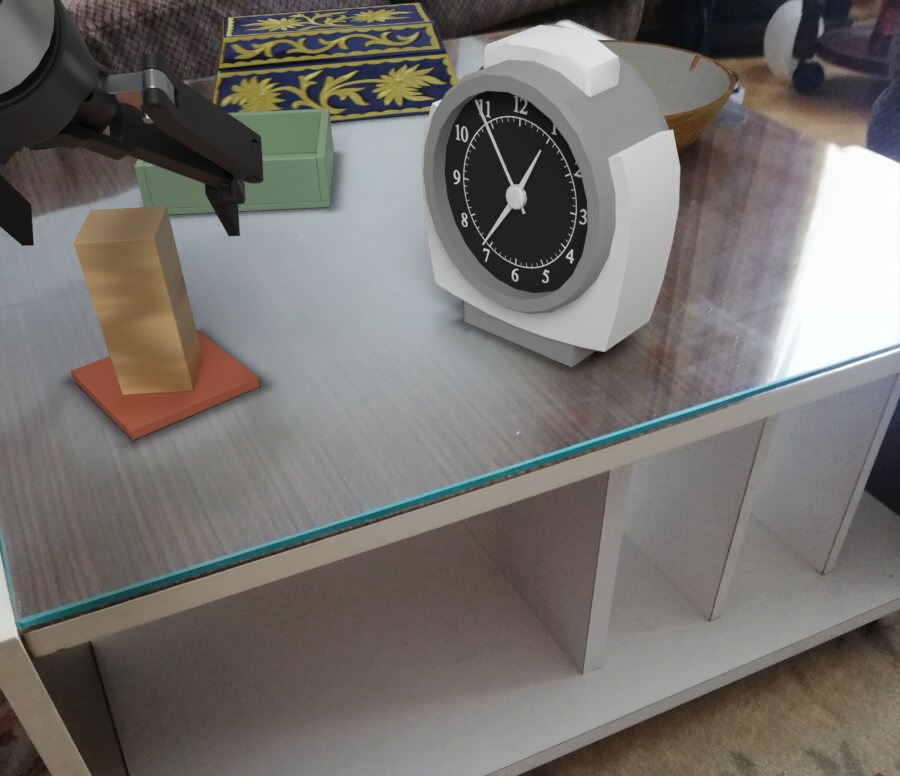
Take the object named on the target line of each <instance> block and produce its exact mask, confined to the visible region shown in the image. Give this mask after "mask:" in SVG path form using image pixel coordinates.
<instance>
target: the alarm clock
mask: <svg viewBox="0 0 900 776" xmlns="http://www.w3.org/2000/svg"><path fill="white" fill-rule="evenodd" d="M598 40H599V39H597V38H596V37H595V36H593V35H591V34H588V33H584V32H581V31H577V30H574V29H571V28H568V27H561V26H553V25H552V26H551V25H543V24H539V25H536V26H534V27H530V28H528V29H526V30H522V31H520V32H517V33H514V34H511V35H508V36H506V37H503V38H500V39H498V40H495V41H492V42H490V43H487V44H486V45H485V47H484V50H483V65H484V69H482V70H479V69H478V70H479V71H478V70H476V71H473V72H471V73H469V74H466V75H463V77H462V78H460V79H459V80H458V82H457V83H456V84H455V85H454V86H453V87H452V88H450V89H449V90H448V91H447V92H446V93H445V95H444V97H443V99H441V100H439V101H436V102H434V103H432V106H431V109H430V113H429V114H428V117H427V120H426V123H425V127H424V130H423V139H422V157H421V175H422V176H421V178H422V193H423V206H424V213H425V214H424V215H425V224H426V232H427V243H428V247H429V253H430V260H431V265H432V271H433V277H434V283H435V284H436V285H438V286H439V287H441V288H443V289H444V290H445V291H447V292H449V293H451V294H452V295H453V296H454V297H457V298H458V299H460V300H462V301H463V304H464V305H463V307H464V308H463V311H464V313H463V315H464V317H463V318H464V321H463V322H464V323H466V324H468V325H471V326H473V327H475V328H477V329H480V330H483V331H485V332H486V333H490V334H492V335H494V336H496V337H500V338H501V339H504V340H506V341H509V342H511V343H514V344H516V345H518V346H519V347H522V348H525V349H528V350H530V351H532V352H534V353H536V354H539V355H542V356H544V357H546V358H549V359H551V360H553V361H556V362H558V363H560V364H563V365H565V366H567V367H570V368H573V367H575V366H577V365H578V364H579V363H580V362H583V361H584V360H585V359H587V358H588V357H589V356H591V355H592V354H594V353H595V352H604V353H606V352H607V351H608V350H610V349H611V348H613V347H614V346H615V345H617V344H619V343H620V342H621V341H623V340H625V338H628V336H630V335H632V334H633V333H634V332H636V331H637V330H639V329H640V328H642V327H643V326H644V325H646V324H647V323H648V322H650V321H651V319H652V316H653V312H654V309H655V306H656V304H657V301H658V297H659V295H660V291H661V289H662V286H663V282H664V278H665V275H666V270H667V266H668V262H669V258H670V254H671V250H672V246H673V243H674V236H675V231H676V227H677V226H676V225H677V220H678V215H679V209H680V190H681V189H680V188H681V186H680V185H681V164H680V159H679V154H678V153H677V148H676V143H675V137H674V132H673V130H669V127H668V125H667V122H666V120H665V117H664V115H663V113H662V110H661V108H660V105H659V103H658V100H657V98H656V96H655V95H654V93H653V92H652V90H651V89H650V88H649V86H648V85H647V83H646V82H645V81H644V79H643V78H642V76H641V75H640V74H639V72H638V71H637V70H636V69H635V68H633V67H632V66H631V65H630V64H629V63H627V62H626V61H625V60H624V59H623V58H621V57H620V56H619V55H618V54H616V53H615V52H613V51H611V50H609V49H608V48H607V47H606V46H604V45H603V44H602V43H601V42H599V41H598Z"/></svg>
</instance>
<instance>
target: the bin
mask: <svg viewBox="0 0 900 776" xmlns="http://www.w3.org/2000/svg"><path fill="white" fill-rule="evenodd" d="M228 114H230V115H231V116H233V117H234V118H236V119H237V120H239V121H240V122H241V123H243V124H244V125H246V126H247V127H249V128H250V129H251V130H253V131H254V132H256V133H257V134H259V135H260V136H261V144H262V158H263V178H264V180H263V181H262V182H261V183H257V184H251V183H247V182H245V181H244V184H245V202H244V204H238V211H239V212H251V211H255V212H256V211H274V210H276V211H277V210H293V209H294V210H297V209H315V208H330V207H331V201H332V199H331V198H332V189H333V188H332V187H333V175H334V162H335V150H334V140H333V131H332V122H331V120H330V111H329V109H305V110H283V111H260V112H238V113H228ZM133 168H134V172H135V176H136V179H137V183H138V187H139V191H140V194H141V199H142V202H143V207H160V206H166V207H167V210H168V214H169V216H171V215H188V214H189V215H191V214H211V213H215V211H214V209H213V207H212V205H211V203H210V202H209V200H208V198H207V196H206V194H205V184H204V183H201V182H199V181H196V180H193V179H191V178H188V177H185V176H182V175H180V174H177V173H174V172H172V171H169V170H166V169H164V168H161V167H158V166H156V165H153V164H150V163H147V162H145V161H142V160H139V159H137V158H136V162H135V163H134V165H133Z"/></svg>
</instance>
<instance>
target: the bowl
mask: <svg viewBox="0 0 900 776" xmlns="http://www.w3.org/2000/svg"><path fill="white" fill-rule="evenodd" d="M597 40H598V41H599V42H601V43H602V44H603V45H604V46H606V47H607V48H608V49H609V50H611V51H613V52H615V53H616V54H618V55H619V56H620V57H621V58H623V59H624V60H625V61H626V62H627V63H629V64H630V65H631V66H632V67H633V68H635V69H636V70H637V71H638V72H639V74H640V75H641V76H642V78H643V79H644V81H645V82H646V83H647V85H648V86H649V88H650V89H651V90H652V92H653V93H654V95H655V96H656V98H657V100H658V103H659V105H660V108H661V110H662V113H663V115H664V117H665V120H666V122H667V125H668V127H669V130H673V132H674V137H675V143H676V148H677V153H678V155H680V154H681V153H683V151H684V150H686V149H687V148H688V147H690V145H692V144H693V143H694V142H695V141H696V140H697V139H698V138H699V137H700V136H701V135H702V134H703V133H704V132H705V131H706V130H707V128H708V127H709V126H711V124H712V123H713V122H714V121H715V119H716V118H717V116H719V113H720V112H721V111H722V110H723V108H724V107H725V105H726V103H727V102H728V101H729V99H730V97H731V96H732V94H733V92H734V90H735V87H736V84H737V81H736V78H735V75H734V73H732V71H731V70H730V69H729V68H728V67H727V66H725V65H724V64H722V63H721V62H719V61H717V60H716V59H713V58H711V57H709V56H706V55H704V54H701V53H698V52H695V51H692V50H688V49H684V48H681V47H676V46H673V45H672V46H671V45H666V44H661V43H654V42H653V43H652V42H646V41H635V40H620V39H597ZM482 69H484V64H483V65H482V66H481V67H480V68H479V69H478V70H477V71H479V70H482Z"/></svg>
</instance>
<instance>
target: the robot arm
mask: <svg viewBox="0 0 900 776" xmlns="http://www.w3.org/2000/svg"><path fill="white" fill-rule="evenodd" d="M139 65H140V71H135V72H126V73H117V74H114V73H113V72H112V71H111V70H110V69H109V68H108V67H106V66H104V65H103V64H100V63H99V62H98V61H96V60H95V59H94V58H93V56H92V55H91V51H90V49H89V47H88V45H87V43H86V41H85V39H84V37H83V35H82V32H81V31H80V29H79V27H78V25H77V24H76V21H74V18H73V17H72V15H71V14H70V13H69V11H68V9H67V7H66V6H65V4H64V3H63V1H62V0H0V166H6V165H7V164H8V162H9V161H11V159H12V157H13V156H14V155H15V154H16V152H21V151H22V150H23V149H24V148H27V149H29V150H30V151H46V150H51V149H55V148H63V149H64V148H66V149H72V150H76V149H85V150H86V151H87V150H88V151H89V152H92V153H96V154H99V155H101V156H104V157H107V158H109V159H113V160H114V161H121V160H123V159H125V158H126V157H131V158H134V159H136V160H137V159H139V160H142V161H145V162H147V163H150V164H153V165H156V166H158V167H161V168H164V169H166V170H169V171H172V172H174V173H177V174H180V175H182V176H185V177H188V178H191V179H193V180H196V181H199V182H201V183H204V184H205V194H206V196H207V198H208V200H209V202H210V203H211V205H212V207H213V209H214V211H215V212H214V213H215V214H216V216H217V218H218V219H219V222H220V224H221V225H222V227H223V229H224V230H225V232H226V234H227V236H228V237H241V230H240V229H241V228H240V211H238V204H244V202H245V184H244V181H245V182H247V183H251V184H257V183H261V182H262V181H263V180H264V178H263V158H262V144H261V136H260V135H259V134H257V133H256V132H254V131H253V130H251V129H250V128H249V127H247V126H246V125H244V124H243V123H241V122H240V121H239V120H237V119H236V118H234V117H233V116H231V115H230V114H228V113H227V112H226V111H224V110H223V109H221V108H220V107H218V106H217V105H216V104H214V103H213V102H211V99H208V98H207V96H206V97H205V95H203V94H201V93H200V92H199V91H197V90H195V89H194V88H192V87H191V86H190V85H188V84H187V83H185V81H183V80H181V79H180V78H178V77H177V75H176V74H175V72H174V70H173V69H172V67H170V65H169V63H168V62H167V61H166V59H165V58H164V57H163V56H161V55H159V54H156V53H144V54H142V55H141V56H140V57H139ZM107 128H109V130H108V131H109V134H106V133H104V132H105V131H106V129H107ZM33 223H34V222H33V208H32V204H31V202H29V201H28V199H27V198H25V196H24V195H22V194H21V193H20V191H18V190H17V188H16V187H14V186H13V185H12V184H11V183H10V182H9V181H8V180H7V179H6V178H5V177H4V175H2V174H1V173H0V228H1V229H2V230H3V231H5V232H6V234H7V235H9V236H10V237H11V238H12V239H14V240H15V241H16V242H17V243H18V244H20V246H22V247H26V246H27V247H28V246H29V247H31V246H34V245H35V242H34V225H33Z"/></svg>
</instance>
